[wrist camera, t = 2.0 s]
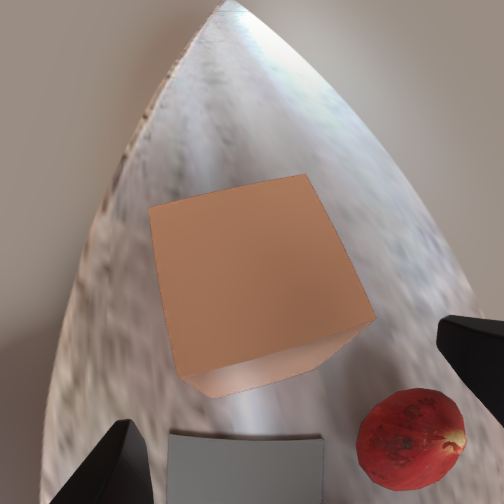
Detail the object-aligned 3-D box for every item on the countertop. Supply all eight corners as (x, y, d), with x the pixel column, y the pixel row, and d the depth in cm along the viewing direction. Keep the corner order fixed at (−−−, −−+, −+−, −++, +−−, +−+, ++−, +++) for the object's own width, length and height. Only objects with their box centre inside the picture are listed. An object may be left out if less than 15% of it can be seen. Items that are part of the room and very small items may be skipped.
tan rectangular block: (314, 369, 18) (376, 317, 9) (212, 399, 17) (178, 377, 8) (281, 279, 21) (305, 173, 12) (188, 303, 20) (148, 207, 11)
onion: (329, 476, 14) (382, 507, 8) (351, 389, 17) (413, 366, 10) (410, 481, 14) (488, 496, 7) (428, 400, 17) (508, 378, 10)
